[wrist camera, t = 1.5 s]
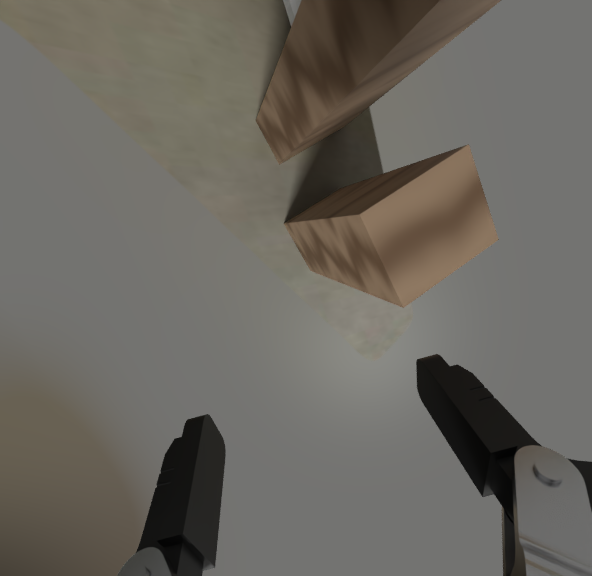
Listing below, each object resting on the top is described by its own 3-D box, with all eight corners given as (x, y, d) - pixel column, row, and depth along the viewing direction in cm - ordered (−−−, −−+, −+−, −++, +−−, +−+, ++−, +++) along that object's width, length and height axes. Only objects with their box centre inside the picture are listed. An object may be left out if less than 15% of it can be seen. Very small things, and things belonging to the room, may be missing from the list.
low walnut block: (283, 223, 40) (359, 214, 19) (340, 188, 41) (468, 144, 21) (310, 270, 43) (403, 307, 22) (363, 236, 44) (498, 239, 23)
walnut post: (255, 120, 37) (454, -402, 6) (325, 82, 38) (750, -489, 8) (279, 164, 38) (520, -82, 8) (344, 126, 40) (751, -201, 10)
